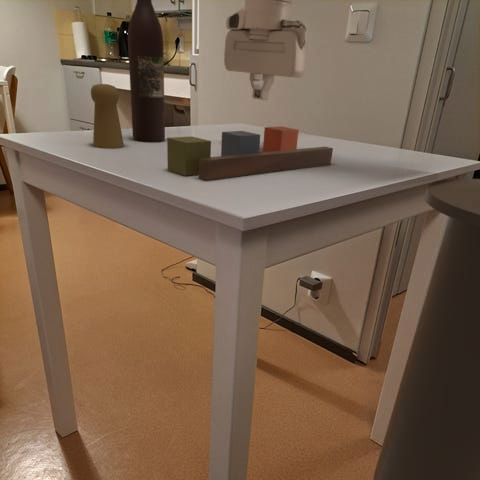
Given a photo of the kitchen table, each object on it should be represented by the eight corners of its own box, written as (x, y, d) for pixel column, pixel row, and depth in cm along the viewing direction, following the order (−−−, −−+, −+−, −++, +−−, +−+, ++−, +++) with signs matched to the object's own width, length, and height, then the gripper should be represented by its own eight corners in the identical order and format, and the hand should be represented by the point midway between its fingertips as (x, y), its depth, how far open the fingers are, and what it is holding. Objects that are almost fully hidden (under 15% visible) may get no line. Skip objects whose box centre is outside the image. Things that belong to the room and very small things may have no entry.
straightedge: (330, 164, 89) (333, 148, 87) (206, 180, 70) (206, 160, 68) (322, 162, 90) (325, 146, 89) (198, 178, 71) (198, 158, 70)
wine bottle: (138, 142, 97) (130, -33, 83) (129, 137, 103) (120, -28, 88) (169, 141, 100) (167, -27, 86) (159, 137, 106) (155, -23, 91)
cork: (116, 149, 89) (112, 86, 83) (87, 146, 90) (81, 83, 84) (128, 144, 94) (125, 85, 89) (101, 142, 95) (96, 82, 89)
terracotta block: (295, 155, 96) (298, 129, 93) (279, 156, 93) (282, 130, 90) (278, 151, 99) (281, 126, 96) (262, 152, 96) (264, 127, 93)
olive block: (210, 173, 75) (211, 140, 72) (185, 176, 72) (185, 142, 69) (191, 167, 78) (192, 136, 76) (167, 170, 75) (167, 137, 73)
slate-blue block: (258, 163, 85) (260, 134, 83) (238, 165, 82) (240, 135, 80) (240, 158, 88) (242, 130, 86) (220, 160, 85) (221, 131, 83)
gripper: (318, 22, 84) (307, 105, 90) (243, 22, 96) (238, 94, 103) (296, 18, 80) (286, 104, 87) (220, 18, 92) (217, 94, 99)
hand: (260, 99), depth 95 cm, fingers closed
